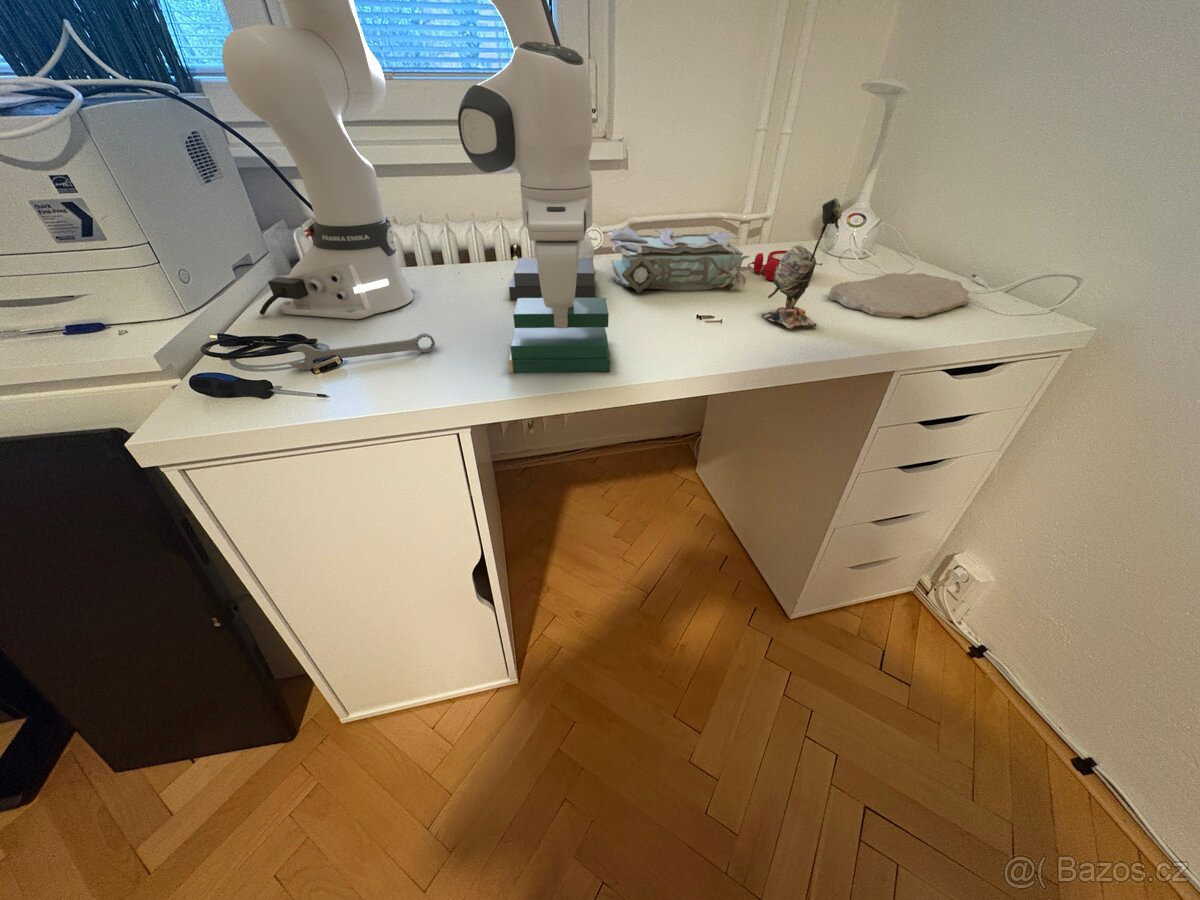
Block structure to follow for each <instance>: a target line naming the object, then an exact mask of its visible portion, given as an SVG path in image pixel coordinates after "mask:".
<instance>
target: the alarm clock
mask: <svg viewBox="0 0 1200 900" xmlns="http://www.w3.org/2000/svg"><path fill="white" fill-rule="evenodd" d="M787 251H788V250H774V251H771V252H769V253H768V255H767V260H766V263H765V264H764V253H763V252H758V253H757V254H755V258H754V261H751V262H750V263H747V267H750V268H751V270H752V271H754V272H755V274H761V272H762V274H763V276H764V278H765V279H766V280H768V281H773V282H774V275H775V271H776V267H777V266H778V264H779V262H780V261H781V259H782V258H783V257H784V255H785V254H786V253H787ZM750 265H753V267H752V266H750ZM816 265H817V266H823V263H822V262H821V263H817V262H816ZM816 265H815V266H816Z"/></svg>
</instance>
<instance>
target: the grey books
mask: <svg viewBox="0 0 1200 900" xmlns="http://www.w3.org/2000/svg"><path fill="white" fill-rule="evenodd" d="M594 265H595V264H594V257H593V258H578V268H577V280H576V291H575V298H596V283H595V281H596V277H595V276H596V275H595V267H594ZM508 290H509V299H510V301H517V298H543V297H542V292H541V286H540V280H539V274H538V267H537V260H536V257H518V259H517V262H516V266H515V268H514V270H513V274H512V277H511V279H510V283H509V286H508Z"/></svg>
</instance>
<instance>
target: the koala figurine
mask: <svg viewBox="0 0 1200 900" xmlns="http://www.w3.org/2000/svg"><path fill="white" fill-rule="evenodd" d="M578 258H593V259H594V258H595V246H594V244H593V242H592V239H591V236H590V235H589V233H588V232H587V231H586V232H585V236H584V240H582V241H581V243H580V248H579V257H578Z"/></svg>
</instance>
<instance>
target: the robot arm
mask: <svg viewBox="0 0 1200 900" xmlns="http://www.w3.org/2000/svg"><path fill="white" fill-rule="evenodd" d="M282 2H283V4H284V5H283V6H284V8H285V11H286V14H287V16H288V19H289V20H288V21H289V25H290V26H283V25H276V24H270V23H269V24H268V23H261V24H256V25H250V26H246V27H242V28H238V29H235V30H232V31H230V33H228V34H227V36H226V38H224V39H225V40H224V42H223V44H222V66H223V70H224V73H225V76H226V78H227V82H228V83H229V86H230V87H231V90H232V91H233V93H234V94H235V95H236V97H237V98H238V100H239V101H240V102H241V104H242V105H243V106H245V108H247V110H249V111H250V112H251V113H252V114H254V115H256V116H257V117H258V118H259V119H260V120H262V121H263V122H264V123H265V124H266V125H268V127H269V128H270V129H271V130H272V131H273V132H274V134H275V135H276V136H277V138H278V139H279V140H280V141H281V143H282V144H283V146H284V148H285V150H287V152H288V154H289V155H290V156H291V158H292V161H293V162H294V164H295V166H296V168H297V170H298V173H299V175H300V176H301V179H302V182H303V185H304V188H305V190H306V191H305V192H306V194H307V196H308V199H309V202H310V205H311V209H312V211H313V215H314V218H315V220H314V222H313V223H312V224H311V225H309V226H308V227H307V228H306V229H304V230H303V233H306V234H305V236H304V237H305V239H307V238H310V239H311V240H312V246H311V247H310V249H308V251H307V252H306V253H305V254H304V255H303V256H302V257H301V258H300V259H299V261H297V262H296V264H295V265H294V266H293V267H292V268H291V270H290V271H289V274H288V277H286V276H285V277H284V276H277V277H274V278H272V279H270V280H268V281H267V283H268V286H269V288H270V290H271V293H272V296H270V297H269V298H268V299H267V300H265V302H264V304H263V305H262V307H261V308H260V310H259V314H260V315H261V316H262V315H263V316H264V315H265V314H266V313H267V310H268V309H269V307H270V306H271V305H272V304H273V303H275V301H277V299H279V298H281V299H282V298H283V299H284V300H283V301H282V303H281V305H280V307H281V311H282V313H283V314H285V315H296V316H307V317H320V318H321V317H322V318H335V319H347V320H361V319H365V318H367V317H370V316H373V315H376V314H381V313H384V312H385V313H386V312H388V311H393V310H396V309H399V308H402V307H403V306H406V305H408V304H409V303H410V302H412V300H413V299H414V294H413V291H412V290H411V288H410V285H409V284H408V281H407V280H406V278H405V275H404V273H403V270H402V268H401V264H400V262H399V259H398V255H397V253H396V251H397V245H396V239H395V234H394V230H393V228H392V225H391V222H390V221H391V220H390V218H389V217H388V216H387V215H386V211H385V207H384V202H383V197H382V194H381V193H382V192H381V190H380V189H381V188H380V184H379V179H378V176H377V172H376V169H375V168H374V166H373V164H372V162H370V160H368V159H367V158H366V157H364V156H363V155H362V154H360V151H358V150H357V148H356V146H355V145H354V144H353V142H352V140H351V138H350V135H349V134H348V132H347V130H346V128H345V124H344V122H353V121H360V120H362V119H364V118H367V117H368V116H371V115H373V114H374V113H376V112H378V111H379V110H380V109H381V108H382V106H383V104H384V102H385V98H386V93H387V86H386V79H385V76H384V71H383V70H382V66H381V64H380V62H379V61H378V60H377V58H376V57H375V55H374V54H373V53H372V51H371V49H370V48H369V46H368V43H367V41H366V39H365V35H364V33H363V30H362V26H361V24H360V20H359V16H358V13H357V9H356V3H355V1H354V0H282ZM489 2H490V3H491V4H492V5H493V7H494V8H495V10H496V11H497V12H498V14H499V15H500V17H501V19H502V21H503V23H504V26H505V29H506V32H507V35H508V37H509V40H510V43H511V46H512V50H513V53H512V56H511V57H510V60H509V62H508V63H507V64H506V65H505V66H504V67H503V68H501V70H500V71H498V72H497V73H496V74H494V75H493V76H491V77H489V78H487V79H485V80H484V81H482V82H480V83H478V84H477V83H476V84H473V85H471V86H469V87H468V89H466V91H465V93H464V94H463V96H462V98H461V100H460V103H459V107H458V113H457V127H458V133H459V139H460V142H461V145H462V148H463V150H464V152H465V154H466V156H467V157H468V159H469V160H470V161H471V163H472V164H473V165H474V166H475V167H476V168H477V169H479V170H480V171H481V172H483V173H486V174H492V175H497V176H498V175H509V174H510V175H511V174H519V176H520V183H519V185H520V197H521V211H522V220H523V221H522V222H523V226H524V227H525V228H526V230H527V234H528V239H529V241H531V242H533V243H534V253H535V258H536V260H537V267H538V274H539V280H540V286H541V292H542V297H543V301H544V304H545V306H546V307H549V308H552V309H553V314H554V326H555V327H556V328H566V327H567V326H568V319H567V314H568V307H572V306H573V303H574V298H575V291H576V280H577V268H578V257H579V248H580V243H581V241H582V240H584V236H585V232H587V231H588V229H589V228H590V227H592V225H593V178H592V177H593V176H592V173H591V169H590V156H591V151H592V147H593V102H592V101H593V100H592V89H591V82H590V76H589V71H588V67H587V64H586V61H585V58H584V57H583V56H581V54H579V53H578V51H576V50H574V49H572V48H569V47H566V46H563V45H561V41H560V38H559V35H558V31H557V29H556V26H555V23H554V19H553V15H552V13H551V9H550V7H549V3H548V0H489Z"/></svg>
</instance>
